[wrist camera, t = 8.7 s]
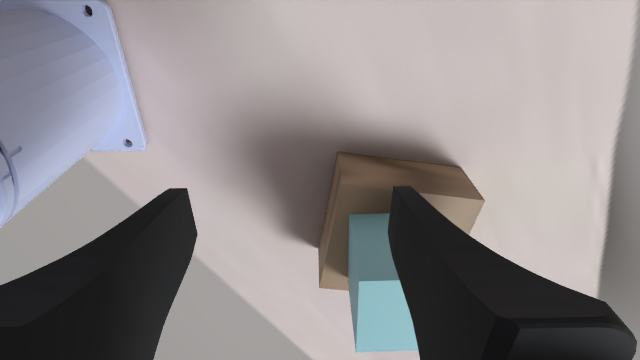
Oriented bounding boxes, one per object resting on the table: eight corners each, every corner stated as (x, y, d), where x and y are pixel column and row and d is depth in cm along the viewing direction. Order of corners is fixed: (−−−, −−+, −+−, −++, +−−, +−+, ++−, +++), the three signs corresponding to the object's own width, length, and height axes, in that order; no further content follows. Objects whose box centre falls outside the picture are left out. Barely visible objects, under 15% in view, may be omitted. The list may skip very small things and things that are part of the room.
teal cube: (347, 279, 23) (355, 352, 18) (349, 214, 20) (359, 281, 16) (427, 277, 23) (453, 349, 18) (438, 212, 20) (472, 278, 16)
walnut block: (318, 245, 27) (319, 287, 23) (337, 149, 22) (341, 183, 19) (422, 256, 27) (438, 298, 24) (459, 165, 23) (484, 200, 20)
